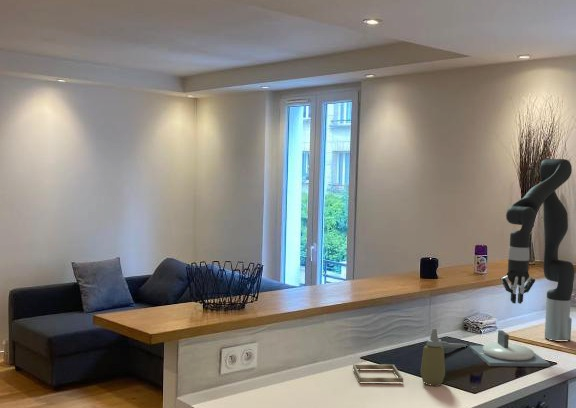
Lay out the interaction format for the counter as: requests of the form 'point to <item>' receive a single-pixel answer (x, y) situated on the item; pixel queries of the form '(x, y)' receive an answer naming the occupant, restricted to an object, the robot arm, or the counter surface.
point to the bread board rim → (377, 379)
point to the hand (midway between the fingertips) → (516, 303)
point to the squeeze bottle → (433, 361)
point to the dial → (507, 349)
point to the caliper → (451, 345)
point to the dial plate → (494, 361)
